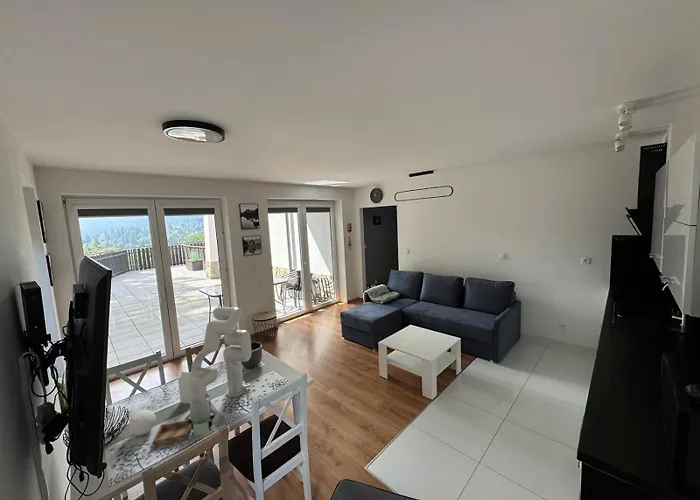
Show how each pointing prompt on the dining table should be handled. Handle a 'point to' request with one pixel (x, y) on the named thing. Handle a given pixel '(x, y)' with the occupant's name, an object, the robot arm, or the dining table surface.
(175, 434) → the walnut crate
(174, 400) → the dining table surface
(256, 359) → the planter
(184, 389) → the milk carton
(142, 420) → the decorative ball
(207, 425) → the sage bin
